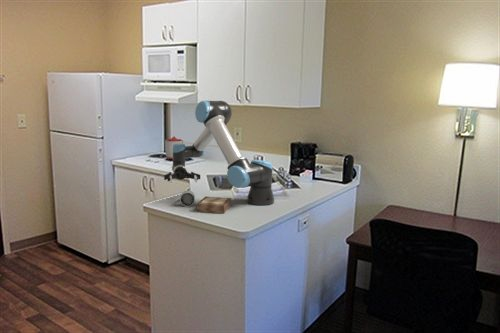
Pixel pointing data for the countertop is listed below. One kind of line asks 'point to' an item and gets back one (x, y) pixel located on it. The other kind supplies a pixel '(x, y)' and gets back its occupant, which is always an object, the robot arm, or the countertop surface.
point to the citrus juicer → (171, 146)
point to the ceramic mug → (186, 199)
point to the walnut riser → (214, 205)
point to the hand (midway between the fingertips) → (183, 180)
